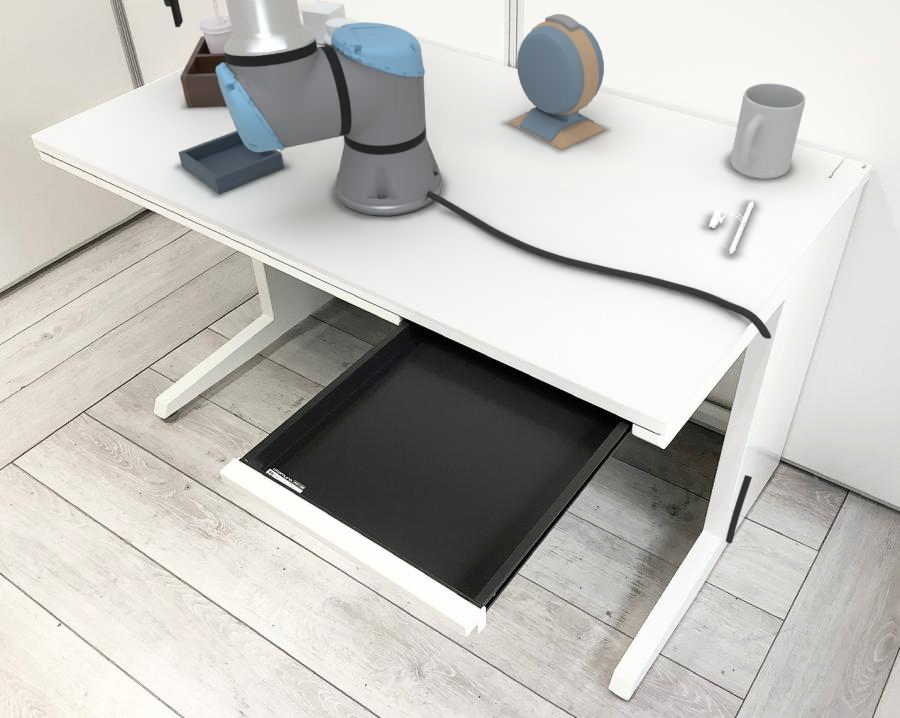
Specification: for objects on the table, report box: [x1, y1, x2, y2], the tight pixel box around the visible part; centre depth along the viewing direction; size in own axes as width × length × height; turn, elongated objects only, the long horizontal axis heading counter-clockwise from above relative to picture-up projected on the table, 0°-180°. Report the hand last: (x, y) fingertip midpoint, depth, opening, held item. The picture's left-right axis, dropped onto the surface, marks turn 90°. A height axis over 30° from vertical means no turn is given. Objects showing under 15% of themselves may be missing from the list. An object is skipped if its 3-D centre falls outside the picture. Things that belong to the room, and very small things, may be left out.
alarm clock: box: [508, 13, 606, 151], centre depth 138 cm, size 14×10×18 cm
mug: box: [730, 83, 806, 180], centre depth 128 cm, size 12×8×11 cm
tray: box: [178, 130, 285, 195], centre depth 136 cm, size 11×11×2 cm
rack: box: [179, 35, 227, 108], centre depth 158 cm, size 18×10×6 cm, turn 1°
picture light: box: [708, 200, 755, 255], centre depth 120 cm, size 14×4×2 cm, turn 154°
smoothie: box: [199, 0, 232, 54], centre depth 159 cm, size 6×6×14 cm
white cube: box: [301, 0, 347, 45], centre depth 174 cm, size 6×6×6 cm
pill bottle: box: [323, 18, 349, 46], centre depth 161 cm, size 5×5×9 cm
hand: (217, 23), depth 158 cm, fingers open, 13 cm apart
